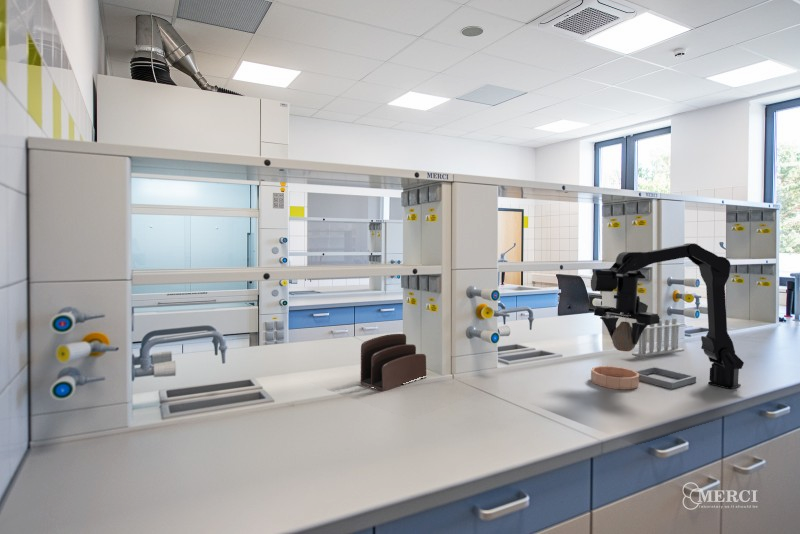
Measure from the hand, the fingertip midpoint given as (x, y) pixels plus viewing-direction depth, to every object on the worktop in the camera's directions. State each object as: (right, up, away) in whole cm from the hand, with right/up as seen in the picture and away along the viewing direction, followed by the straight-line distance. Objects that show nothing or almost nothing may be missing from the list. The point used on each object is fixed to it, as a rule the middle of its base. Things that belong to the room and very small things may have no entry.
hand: (623, 342), depth 149 cm
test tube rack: (+33, -11, +41) cm, 54 cm away
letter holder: (-72, -13, 0) cm, 73 cm away
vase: (0, -3, 0) cm, 3 cm away
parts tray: (+14, -13, +3) cm, 19 cm away
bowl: (-3, -13, 0) cm, 13 cm away
